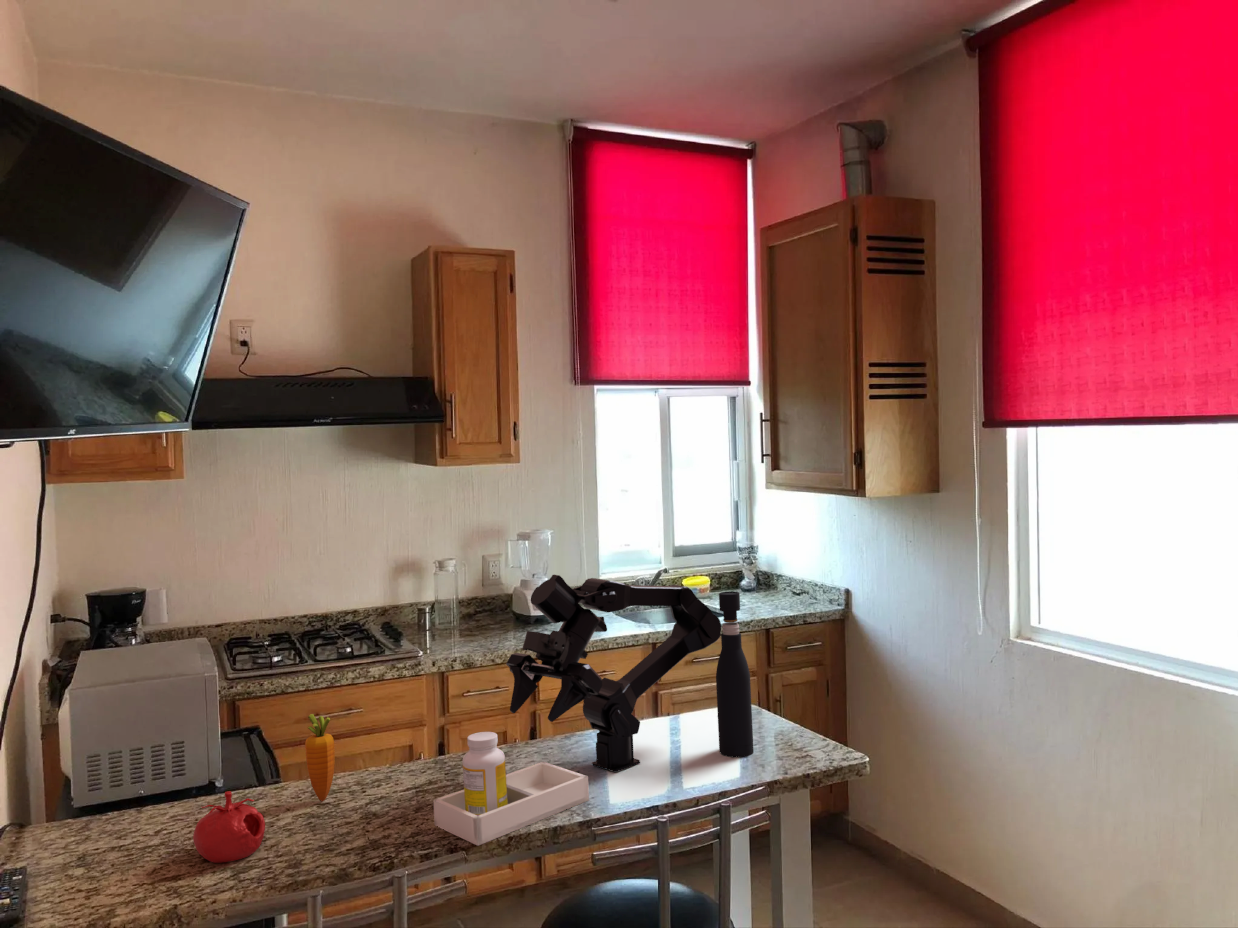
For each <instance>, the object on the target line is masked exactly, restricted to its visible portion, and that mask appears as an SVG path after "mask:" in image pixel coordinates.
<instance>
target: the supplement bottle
mask: <svg viewBox="0 0 1238 928" xmlns="http://www.w3.org/2000/svg"><path fill="white" fill-rule="evenodd" d="M466 739H467V746H468V748H469V750H468V751H467V752H466V753H465V754H464V756H463V758H462V776H463V778H462V779H463V790H464V795H465V811H468V812H470V813H472V814H475V815H477V816H479V815H481V814H484V813H487V812H489V811H492V810H495V809H497V808H500V807H502V806H505V805H508V801H507V784H506V774H507V772H506V770H507V769H506V755H505V753H504V752H503V750H502V749H500V748H498V746H497V745H498V742H499V740H498V734H497V733H496V732H492V731H481V732H480V731H478V732H476V733H472V734H469V735H468V736H467V738H466Z"/></svg>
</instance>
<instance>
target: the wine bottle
mask: <svg viewBox="0 0 1238 928" xmlns="http://www.w3.org/2000/svg"><path fill="white" fill-rule="evenodd" d="M740 597H741V596H740V592H738V591H721V592H719V593H718V603H719V605H718V606H719V611H720V612H723V613H722V615H723V619H722V620H723V622H724V623H722V625H721V636H720V640H721V650H720V653H719V657H718V660H717V666H716V671H715V672H716V674H715V684H716V686H715V687H716V705H717V706H716V707H717V710H716V711H717V727H718V729H717V730H718V749H719V750H718V751H719V753H720V754H721V755H722V756H725V757H728V758H729V757H730V758H743V757H744V758H745V757H749V756H751V755H752V754H753V753H754V734H753V733H754V732H753V731H754V730H753V714H752V713H753V712H752V711H753V710H752V709H753V707H752V691H751V690H752V689H751V674H750V669H749V664H748V661H747V659H746V658H747V657H746V656H745V653H744V650H743V648H742V645H743V644H742V633H740V631H741V630H740V625H739V623H738V614H737V613H738V612H739V611H741V599H740Z"/></svg>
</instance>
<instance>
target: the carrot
mask: <svg viewBox="0 0 1238 928" xmlns="http://www.w3.org/2000/svg"><path fill="white" fill-rule="evenodd" d="M308 719H309V721H310V722H311V724H312V725H309V726H308V727H307V729H308V730H310V731H311V732H312V733H313V734H312V735H310V736H308V737H307V738H306V739H305V742H304V748H305V749H304V751H305V757H306V758H305V760H306V767H307V773H308V777H309V779H310V780H309V781H310V784H311V786H312V790H313V791H314V794H315V795H316V797H317V798H318V800H319V801H321V802H324V801H326V799H327V797H328V796H329V792H330V790H331V788H332V784H333V779H334V773H335V761H336V760H335V759H336V758H335V757H336V756H335V755H336V753H335V750H336V749H335V748H336V747H335V739H334V737H333V735H332V734H330V733H326V730H327V726H328V725H329V723H330V721H331V718H330V717H326V718H324V716H323V715H319V716H318V720H317V718H316V717H315V715H314V713H310V714H309V715H308ZM318 721H319V722H318Z"/></svg>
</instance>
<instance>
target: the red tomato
mask: <svg viewBox="0 0 1238 928" xmlns="http://www.w3.org/2000/svg"><path fill="white" fill-rule="evenodd" d="M232 795H233V793H232V791H231V790H229V791H228V790H227V791H225V792H224V797H225V803H224V806H223V805H221V804H220V805H218V804H217V805H214V804H213V805H211V804H208V805H204V806H201V808H202V809H206V808H208V807H212V808H211V809H210V810H209V812H208V813H206V814H205V815H204V816H203V817H201V818H200V819H199V820H198V822H197V823H196V826H195V827H194V831H193V837H192V838H193V839H192V841H193V844H194V846H195V849H196V851H197V854H199V855H200V856H201V857H202V858H204V859H205V860H207V861H208V862H211V863H215V864H216V863H217V864H221V863H228V862H233V861H234V862H235V861H238V860H241V859H244V858H248V857H249V856H251V855H253V854H254V853H256V851H257V850H258V849H259V848H260V846H261V844H262V841H263V840H264V836H265V831H266V822H265V818H264V815H263V814H262V813H261V812H259V811H258V809H257V808H256V807H255V806H252V805H249V804H246V803H245V802H247V801H249V802H254V801H255V799H251V798H245V799H244V800H241V801H238V802H232Z"/></svg>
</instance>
